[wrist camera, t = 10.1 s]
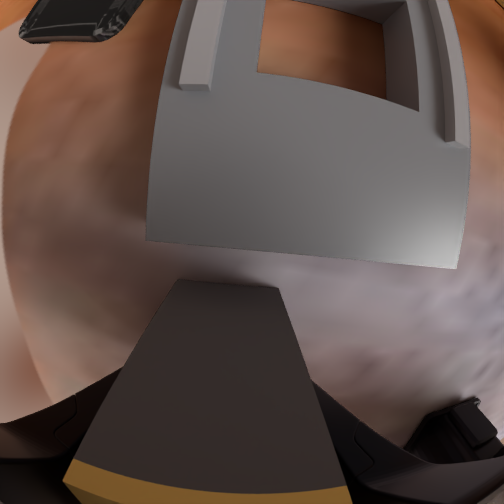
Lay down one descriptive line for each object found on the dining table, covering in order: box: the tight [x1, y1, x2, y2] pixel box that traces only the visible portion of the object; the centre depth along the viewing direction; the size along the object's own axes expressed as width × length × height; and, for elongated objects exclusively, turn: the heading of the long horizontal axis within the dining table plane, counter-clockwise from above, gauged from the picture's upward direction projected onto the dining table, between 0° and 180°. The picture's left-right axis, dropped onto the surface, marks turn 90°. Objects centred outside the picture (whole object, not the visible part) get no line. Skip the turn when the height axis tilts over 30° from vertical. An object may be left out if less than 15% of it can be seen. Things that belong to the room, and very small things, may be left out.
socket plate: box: [146, 0, 471, 269], centre depth 7 cm, size 19×11×3 cm, turn 174°
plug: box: [63, 279, 353, 504], centre depth 7 cm, size 4×4×9 cm
